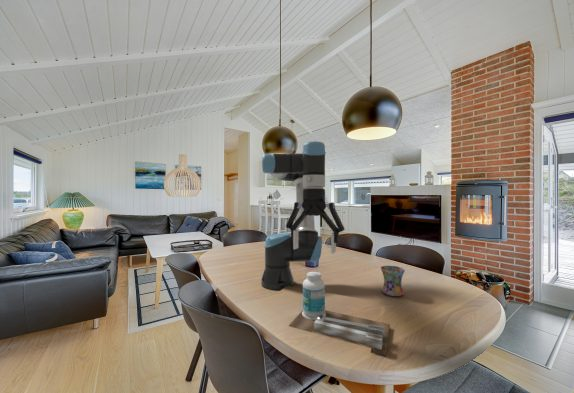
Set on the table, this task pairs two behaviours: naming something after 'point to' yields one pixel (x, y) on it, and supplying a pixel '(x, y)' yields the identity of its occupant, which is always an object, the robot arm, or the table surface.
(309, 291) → the pill bottle
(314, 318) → the rest pad
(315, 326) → the board
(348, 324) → the tong jaw
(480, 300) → the table surface
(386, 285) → the mug
